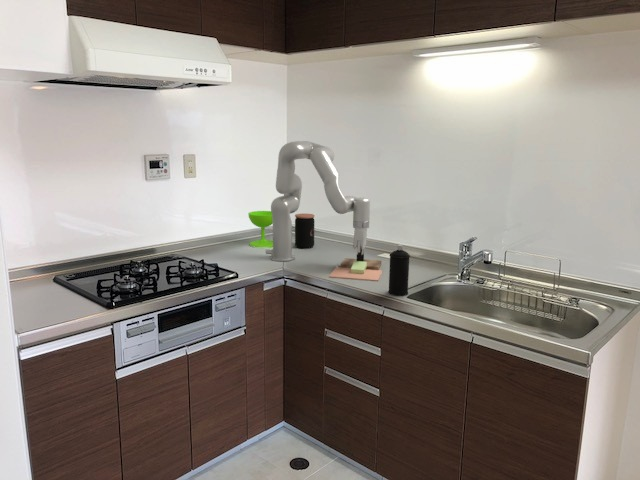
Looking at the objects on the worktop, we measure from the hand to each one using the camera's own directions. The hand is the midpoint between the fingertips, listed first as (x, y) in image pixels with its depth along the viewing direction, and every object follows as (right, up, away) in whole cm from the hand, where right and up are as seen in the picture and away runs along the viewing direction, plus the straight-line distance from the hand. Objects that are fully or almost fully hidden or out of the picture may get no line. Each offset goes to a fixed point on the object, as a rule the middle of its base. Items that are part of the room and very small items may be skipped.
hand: (360, 262), depth 246 cm
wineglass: (-51, +8, +48) cm, 71 cm away
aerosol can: (+13, -11, -34) cm, 38 cm away
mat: (-2, -5, -9) cm, 10 cm away
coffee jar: (-27, +7, +44) cm, 52 cm away
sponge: (-1, -2, -5) cm, 6 cm away
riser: (+1, -2, +5) cm, 5 cm away
